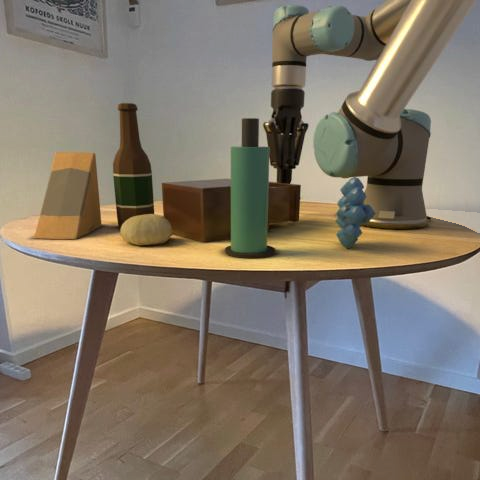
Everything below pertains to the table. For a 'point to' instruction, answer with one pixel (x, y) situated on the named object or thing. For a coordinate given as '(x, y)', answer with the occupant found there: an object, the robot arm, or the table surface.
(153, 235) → the sea urchin shell
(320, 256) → the table surface
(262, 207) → the soap bottle
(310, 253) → the table surface
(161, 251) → the table surface
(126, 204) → the beer bottle
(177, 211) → the cabinet
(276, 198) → the drawer
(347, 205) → the grapes
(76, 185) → the sandwich container
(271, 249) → the mat
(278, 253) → the table surface
